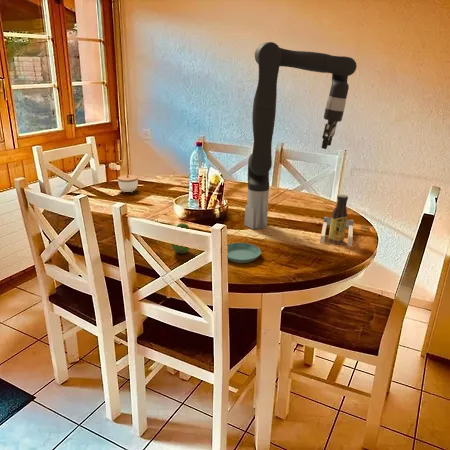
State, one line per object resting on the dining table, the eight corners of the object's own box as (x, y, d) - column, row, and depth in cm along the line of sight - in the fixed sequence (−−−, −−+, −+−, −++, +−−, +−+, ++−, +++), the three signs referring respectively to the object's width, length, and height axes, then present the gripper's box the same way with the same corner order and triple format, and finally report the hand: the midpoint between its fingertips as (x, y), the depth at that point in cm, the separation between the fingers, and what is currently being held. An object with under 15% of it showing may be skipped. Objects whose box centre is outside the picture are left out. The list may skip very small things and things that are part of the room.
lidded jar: (122, 187, 236) (121, 171, 233) (141, 188, 235) (140, 172, 232) (115, 193, 226) (114, 176, 223) (134, 194, 225) (133, 177, 222)
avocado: (193, 256, 157) (193, 226, 152) (172, 257, 155) (171, 227, 151) (190, 247, 164) (190, 218, 160) (170, 248, 162) (169, 220, 158)
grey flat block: (349, 228, 186) (349, 227, 186) (326, 225, 189) (326, 224, 189) (349, 220, 195) (349, 220, 195) (327, 218, 198) (327, 217, 198)
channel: (351, 246, 168) (353, 235, 166) (320, 242, 171) (321, 231, 169) (352, 230, 184) (353, 219, 182) (323, 227, 187) (324, 216, 185)
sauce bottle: (335, 246, 168) (341, 199, 161) (324, 240, 173) (330, 194, 166) (347, 243, 171) (353, 197, 164) (336, 237, 176) (342, 192, 169)
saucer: (221, 265, 151) (221, 258, 150) (221, 248, 165) (221, 242, 164) (262, 266, 151) (262, 259, 150) (258, 249, 165) (259, 242, 164)
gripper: (341, 111, 165) (331, 151, 172) (346, 108, 177) (337, 146, 184) (322, 108, 167) (313, 147, 174) (329, 105, 179) (320, 142, 186)
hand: (326, 146), depth 179 cm, fingers open, 8 cm apart
